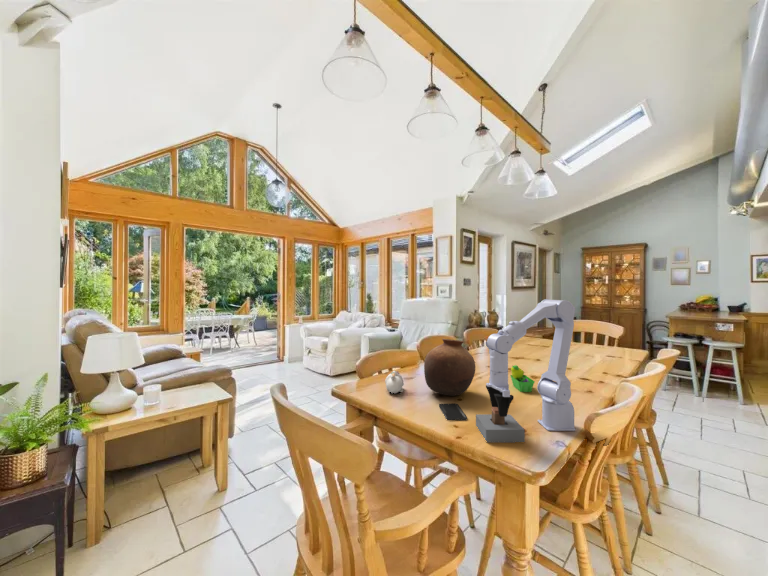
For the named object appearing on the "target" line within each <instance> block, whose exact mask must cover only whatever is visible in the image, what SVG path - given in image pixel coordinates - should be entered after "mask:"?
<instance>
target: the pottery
mask: <svg viewBox="0 0 768 576" xmlns="http://www.w3.org/2000/svg"><path fill="white" fill-rule="evenodd" d="M441 340H442V341H443V343H442V344H439V345H437V346H435V347H433V348H432V349H431V350H429V351H428V353H426V356H425V357H424V358H425V359H424V364H423V368H424V369H423V372H424V373H423V374H424V380H425V383H426V385H427V387H428V388H429V389H430V390H431V391H432V392H434V393H437V394H440V395H444V396H452V397H453V396H460V395H462V394H464V393H465V392H466V391H467V390H468V389H469V387H470V385H471V384H472V383H473V379H474V377H475V374H476V362H475V361H476V360H475V357H473V355H472V354H471V353H470V352H469V351H468V350H467V349H466V348H464V346H463V345H462V344H464V341H463V340H457V339H450V338H442V339H441Z"/></svg>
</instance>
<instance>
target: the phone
mask: <svg viewBox="0 0 768 576" xmlns="http://www.w3.org/2000/svg"><path fill="white" fill-rule="evenodd" d="M438 404H439V405H438V408H439V409H440V411H441V413H442V414H444V415H443V416H445V417H444V418H445V420H446V419H447V420H446V421H448V420H459V421H467V420H468V416H467V415H466V414H465V412H464V411H463V409H462V408H461V407H460V404H458V403H456V402H455V403H438ZM466 419H467V420H466Z"/></svg>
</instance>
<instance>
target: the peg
mask: <svg viewBox="0 0 768 576" xmlns="http://www.w3.org/2000/svg"><path fill="white" fill-rule="evenodd" d="M491 414H492V422H493V424H494V425H505V417H500V415H499V411H498V407H492V406H491Z"/></svg>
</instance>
